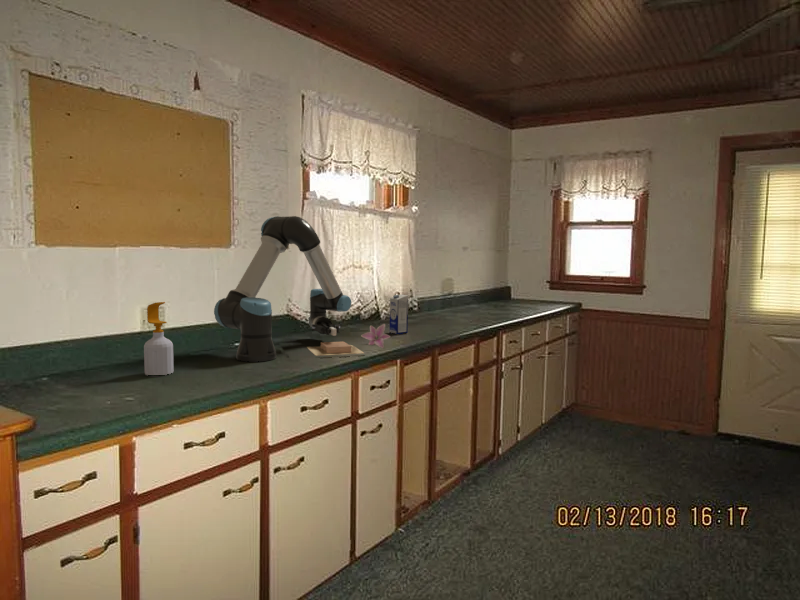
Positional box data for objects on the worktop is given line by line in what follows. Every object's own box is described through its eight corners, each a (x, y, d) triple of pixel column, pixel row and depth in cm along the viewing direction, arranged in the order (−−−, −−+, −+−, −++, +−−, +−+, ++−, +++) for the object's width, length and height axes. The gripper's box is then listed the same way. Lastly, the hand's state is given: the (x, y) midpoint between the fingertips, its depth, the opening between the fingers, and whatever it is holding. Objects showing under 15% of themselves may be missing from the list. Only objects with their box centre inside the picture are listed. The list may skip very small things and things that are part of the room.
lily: (357, 348, 251) (357, 331, 245) (373, 335, 259) (374, 318, 254) (379, 359, 246) (379, 342, 240) (394, 345, 254) (395, 328, 248)
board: (315, 358, 220) (315, 355, 220) (306, 349, 239) (306, 347, 239) (364, 356, 227) (364, 353, 227) (351, 347, 246) (351, 344, 245)
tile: (320, 348, 235) (326, 353, 224) (320, 342, 235) (326, 347, 224) (343, 347, 239) (351, 352, 227) (343, 341, 238) (351, 346, 227)
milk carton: (407, 333, 288) (408, 295, 286) (396, 334, 284) (397, 295, 282) (400, 331, 294) (400, 294, 292) (389, 332, 290) (389, 294, 288)
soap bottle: (155, 377, 184) (153, 303, 182) (139, 374, 189) (137, 302, 187) (179, 372, 192) (177, 301, 190) (162, 369, 197) (161, 300, 195)
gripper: (336, 332, 258) (349, 340, 235) (308, 333, 253) (319, 342, 231) (336, 316, 257) (349, 323, 235) (308, 317, 252) (319, 324, 230)
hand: (334, 332), depth 233 cm, fingers closed
